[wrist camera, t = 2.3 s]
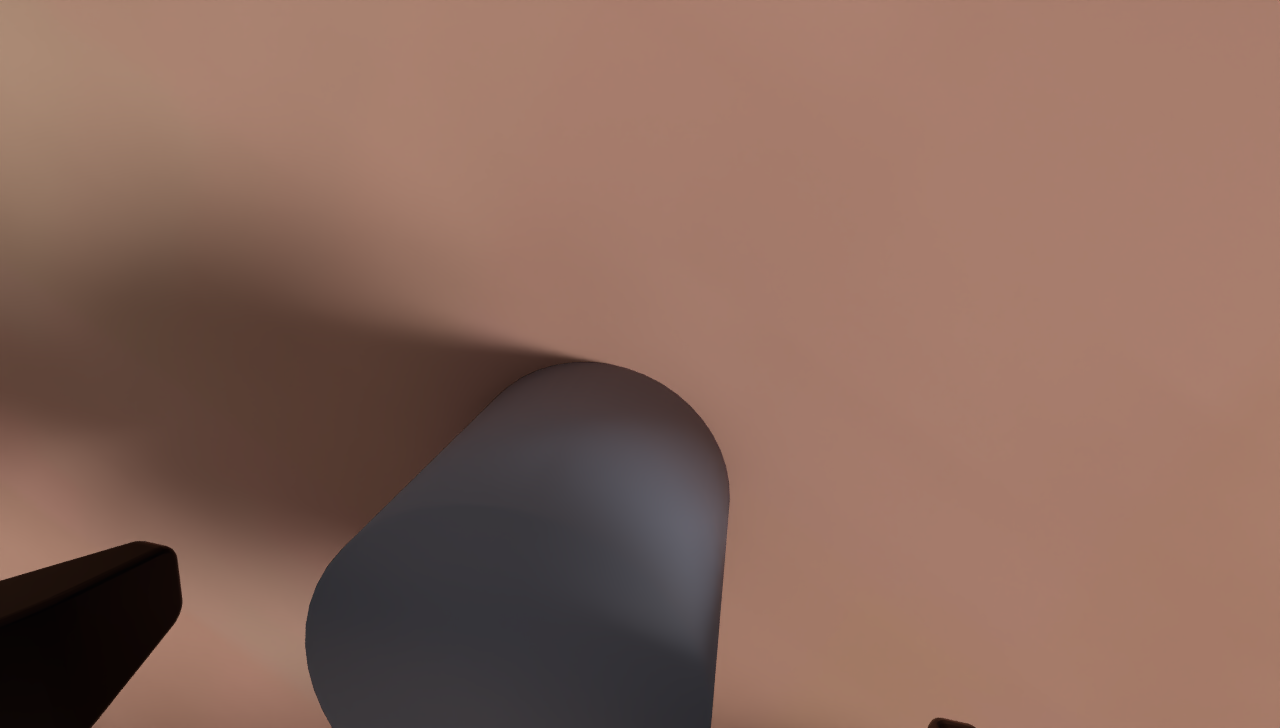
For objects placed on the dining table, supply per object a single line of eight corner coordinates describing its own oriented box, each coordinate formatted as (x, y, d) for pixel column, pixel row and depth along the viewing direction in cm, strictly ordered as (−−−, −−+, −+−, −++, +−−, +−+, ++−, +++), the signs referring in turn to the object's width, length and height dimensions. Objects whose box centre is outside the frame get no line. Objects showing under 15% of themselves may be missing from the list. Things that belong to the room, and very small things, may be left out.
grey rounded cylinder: (707, 625, 12) (678, 889, 8) (463, 573, 12) (312, 794, 8) (751, 388, 10) (746, 555, 6) (473, 340, 11) (295, 465, 7)
